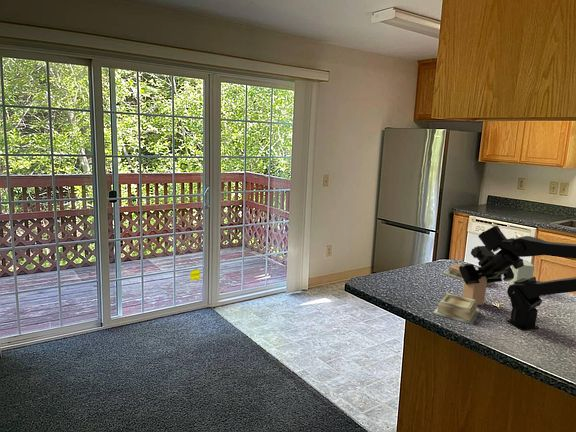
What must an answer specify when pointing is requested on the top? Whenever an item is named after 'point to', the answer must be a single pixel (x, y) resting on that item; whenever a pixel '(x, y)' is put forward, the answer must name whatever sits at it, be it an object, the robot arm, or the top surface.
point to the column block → (476, 291)
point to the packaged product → (457, 273)
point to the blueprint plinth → (457, 308)
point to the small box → (522, 272)
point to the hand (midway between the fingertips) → (472, 282)
